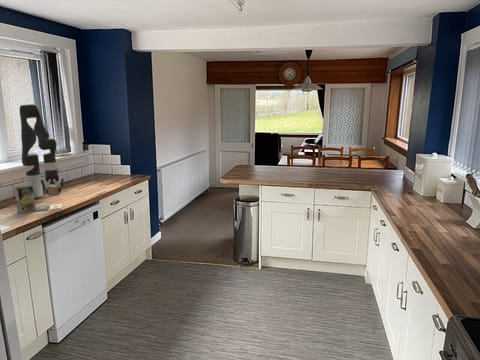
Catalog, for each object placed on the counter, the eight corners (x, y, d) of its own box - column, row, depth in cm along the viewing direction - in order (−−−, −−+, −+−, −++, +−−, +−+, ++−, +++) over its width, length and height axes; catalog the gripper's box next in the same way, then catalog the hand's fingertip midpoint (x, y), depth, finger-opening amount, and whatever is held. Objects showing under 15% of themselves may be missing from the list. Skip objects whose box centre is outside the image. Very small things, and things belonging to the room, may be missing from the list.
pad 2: (51, 206, 244) (51, 205, 244) (62, 205, 247) (62, 204, 246) (49, 210, 235) (48, 208, 235) (60, 209, 237) (60, 207, 237)
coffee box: (21, 213, 230) (17, 189, 226) (17, 211, 234) (13, 187, 230) (36, 209, 237) (32, 186, 233) (32, 208, 241) (28, 185, 237)
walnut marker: (50, 194, 241) (49, 185, 240) (59, 193, 243) (58, 184, 242) (48, 196, 235) (47, 187, 234) (58, 195, 237) (57, 186, 236)
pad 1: (38, 207, 242) (38, 206, 242) (49, 206, 244) (49, 205, 244) (35, 211, 233) (35, 210, 232) (47, 210, 235) (47, 209, 235)
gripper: (63, 167, 241) (66, 191, 245) (39, 168, 237) (43, 193, 240) (62, 169, 234) (65, 193, 238) (37, 170, 230) (41, 195, 233)
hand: (54, 193), depth 239 cm, fingers closed on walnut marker, 6 cm apart
